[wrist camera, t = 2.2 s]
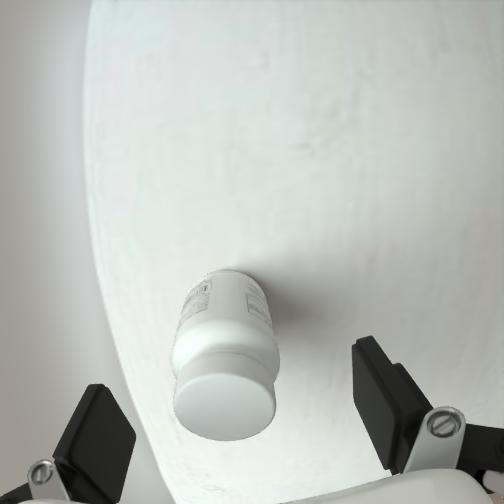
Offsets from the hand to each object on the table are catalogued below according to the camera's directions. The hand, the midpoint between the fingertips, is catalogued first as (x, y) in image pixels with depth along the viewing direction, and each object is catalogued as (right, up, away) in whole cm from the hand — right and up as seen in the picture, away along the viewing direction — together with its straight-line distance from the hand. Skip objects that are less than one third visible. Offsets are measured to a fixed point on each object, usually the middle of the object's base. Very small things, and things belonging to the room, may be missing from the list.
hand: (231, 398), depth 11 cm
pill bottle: (-1, +2, +6) cm, 7 cm away
